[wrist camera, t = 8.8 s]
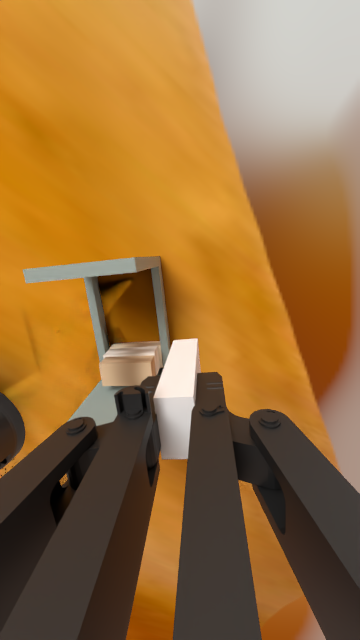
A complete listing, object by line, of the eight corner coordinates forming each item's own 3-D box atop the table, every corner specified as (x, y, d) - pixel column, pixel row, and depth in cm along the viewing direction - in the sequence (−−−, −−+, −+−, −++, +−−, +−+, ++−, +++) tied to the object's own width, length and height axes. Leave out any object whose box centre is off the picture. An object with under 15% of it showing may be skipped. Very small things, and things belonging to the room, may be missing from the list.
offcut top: (108, 377, 34) (102, 386, 32) (105, 356, 33) (98, 364, 31) (156, 376, 33) (153, 385, 31) (153, 355, 32) (150, 362, 30)
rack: (109, 378, 39) (64, 438, 26) (87, 263, 34) (22, 269, 22) (173, 374, 38) (159, 435, 25) (159, 256, 33) (134, 257, 21)
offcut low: (118, 362, 38) (112, 369, 36) (115, 342, 37) (109, 348, 35) (165, 360, 38) (162, 367, 35) (163, 340, 37) (160, 345, 34)
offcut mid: (113, 369, 36) (107, 377, 34) (109, 348, 35) (103, 355, 33) (160, 366, 35) (157, 374, 33) (157, 345, 34) (154, 352, 32)
